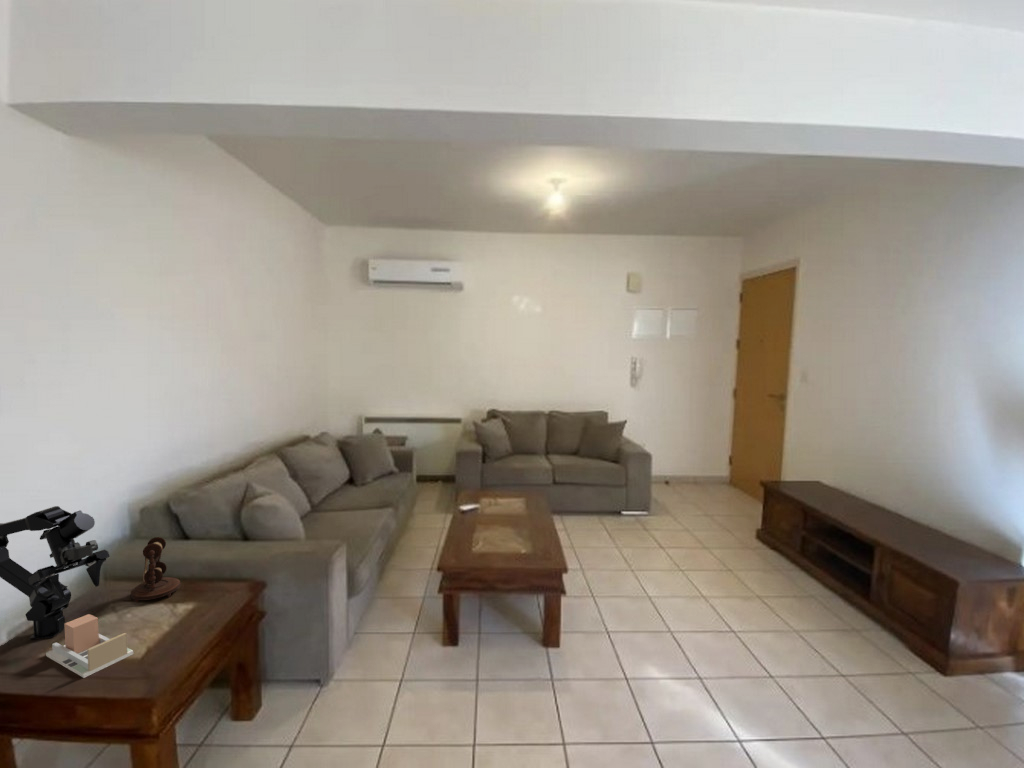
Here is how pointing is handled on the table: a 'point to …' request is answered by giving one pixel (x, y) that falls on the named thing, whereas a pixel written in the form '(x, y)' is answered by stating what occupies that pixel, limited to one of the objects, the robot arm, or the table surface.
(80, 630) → the slider block
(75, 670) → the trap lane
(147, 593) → the brown upright piece
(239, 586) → the table surface
